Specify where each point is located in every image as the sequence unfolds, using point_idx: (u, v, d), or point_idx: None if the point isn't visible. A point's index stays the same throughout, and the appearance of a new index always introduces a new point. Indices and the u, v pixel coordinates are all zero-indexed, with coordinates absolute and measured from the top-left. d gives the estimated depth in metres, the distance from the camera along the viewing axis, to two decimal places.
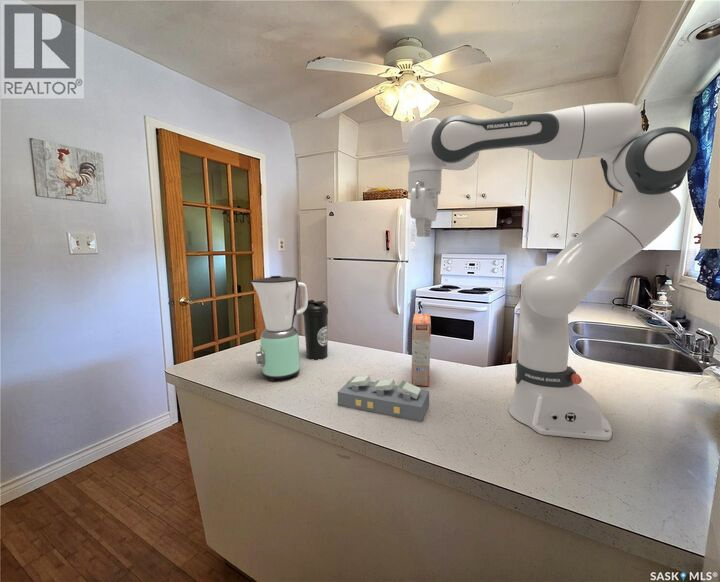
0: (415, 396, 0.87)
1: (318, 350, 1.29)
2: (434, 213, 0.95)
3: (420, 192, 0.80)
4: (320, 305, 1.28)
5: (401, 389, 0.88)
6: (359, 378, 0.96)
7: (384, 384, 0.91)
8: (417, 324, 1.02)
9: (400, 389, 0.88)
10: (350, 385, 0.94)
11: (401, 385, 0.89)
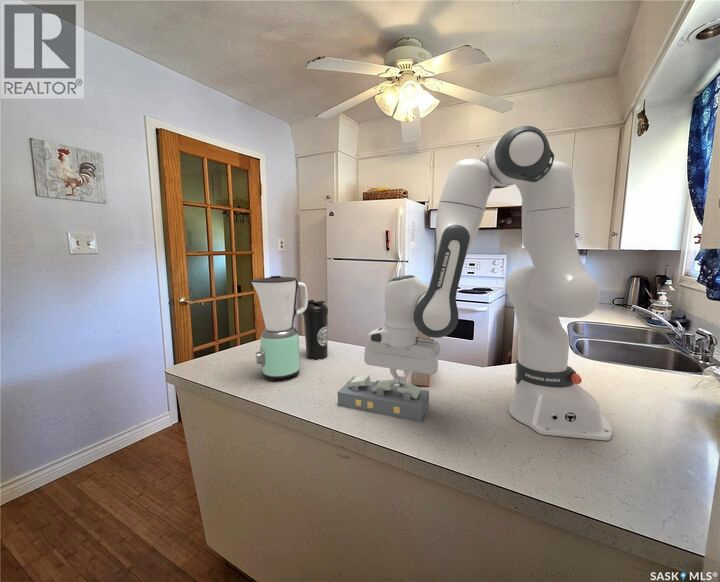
0: (415, 396, 0.87)
1: (318, 350, 1.29)
2: None
3: None
4: (320, 305, 1.28)
5: (401, 389, 0.88)
6: (359, 378, 0.96)
7: (384, 384, 0.91)
8: None
9: (400, 389, 0.88)
10: (350, 385, 0.94)
11: (401, 385, 0.89)
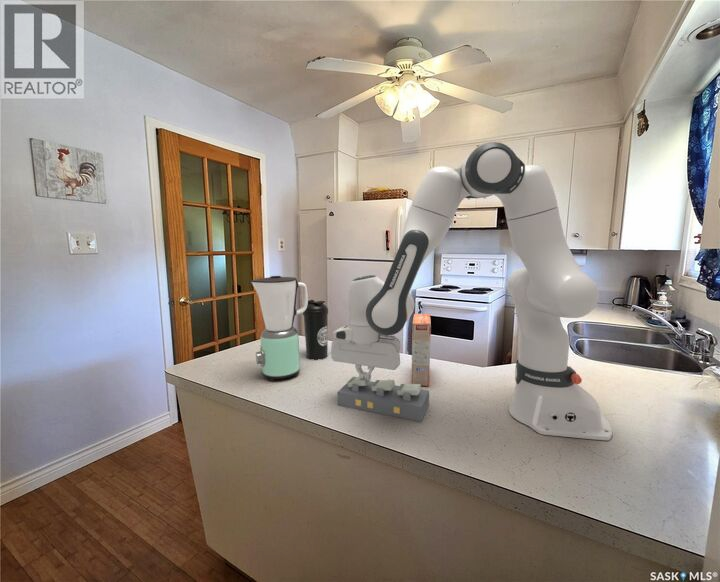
0: (415, 392, 0.87)
1: (318, 350, 1.29)
2: None
3: None
4: (320, 305, 1.28)
5: (401, 392, 0.88)
6: None
7: (384, 384, 0.91)
8: (417, 324, 1.02)
9: (400, 392, 0.89)
10: (350, 385, 0.94)
11: (400, 388, 0.89)
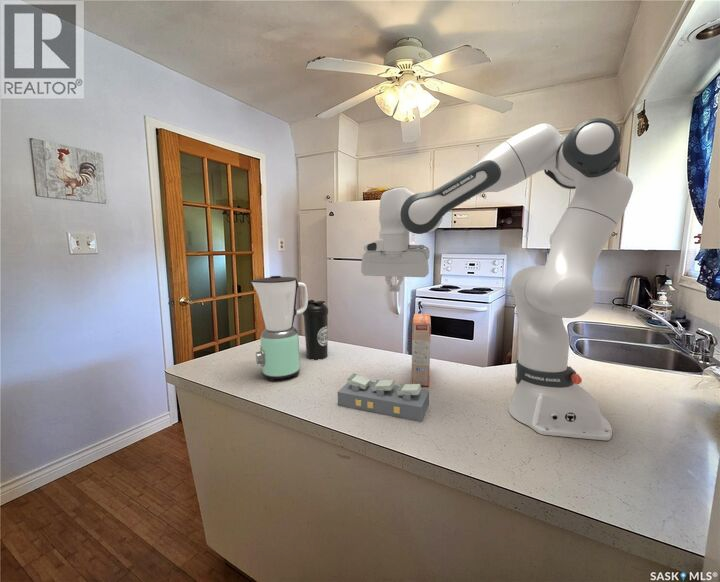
0: (415, 392, 0.87)
1: (318, 350, 1.29)
2: None
3: None
4: (320, 305, 1.28)
5: (401, 392, 0.89)
6: (360, 378, 0.96)
7: (384, 384, 0.91)
8: (417, 324, 1.02)
9: (400, 392, 0.89)
10: (350, 382, 0.94)
11: (400, 388, 0.89)
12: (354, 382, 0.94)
